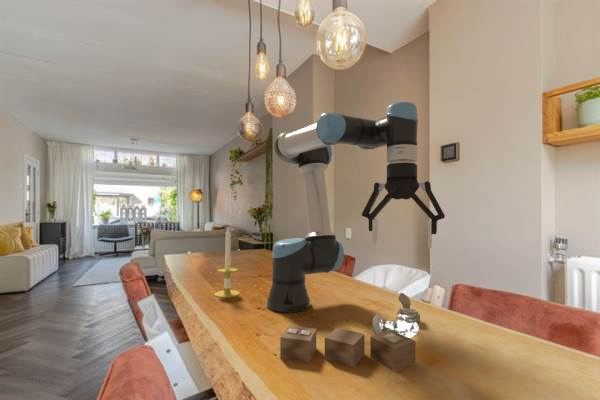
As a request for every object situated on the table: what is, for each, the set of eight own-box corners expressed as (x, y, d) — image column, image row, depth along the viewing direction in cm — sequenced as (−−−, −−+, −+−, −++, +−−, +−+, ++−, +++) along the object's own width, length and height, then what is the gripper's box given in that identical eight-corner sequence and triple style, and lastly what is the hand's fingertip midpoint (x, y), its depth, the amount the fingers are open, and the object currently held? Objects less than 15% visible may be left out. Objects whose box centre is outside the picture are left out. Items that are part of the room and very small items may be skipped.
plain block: (324, 359, 69) (324, 337, 69) (337, 347, 75) (337, 327, 75) (353, 368, 66) (353, 345, 66) (364, 355, 72) (364, 333, 72)
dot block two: (280, 359, 69) (280, 335, 69) (289, 345, 76) (289, 324, 76) (309, 363, 68) (310, 339, 68) (316, 349, 74) (316, 327, 74)
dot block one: (370, 358, 70) (370, 335, 70) (390, 350, 74) (390, 328, 74) (394, 372, 64) (394, 346, 64) (415, 363, 68) (415, 339, 68)
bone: (418, 325, 85) (401, 291, 90) (399, 332, 89) (383, 299, 93) (428, 319, 92) (411, 288, 96) (410, 326, 95) (394, 295, 99)
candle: (236, 297, 116) (237, 227, 117) (210, 297, 116) (212, 227, 117) (242, 290, 126) (243, 226, 127) (218, 290, 126) (219, 225, 127)
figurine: (373, 311, 89) (416, 308, 85) (376, 333, 88) (420, 332, 84) (368, 319, 81) (416, 317, 77) (372, 344, 80) (421, 343, 76)
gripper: (350, 164, 81) (350, 243, 80) (456, 158, 70) (455, 251, 69) (358, 167, 87) (357, 241, 87) (455, 163, 76) (455, 247, 76)
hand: (401, 245), depth 78 cm, fingers open, 13 cm apart
